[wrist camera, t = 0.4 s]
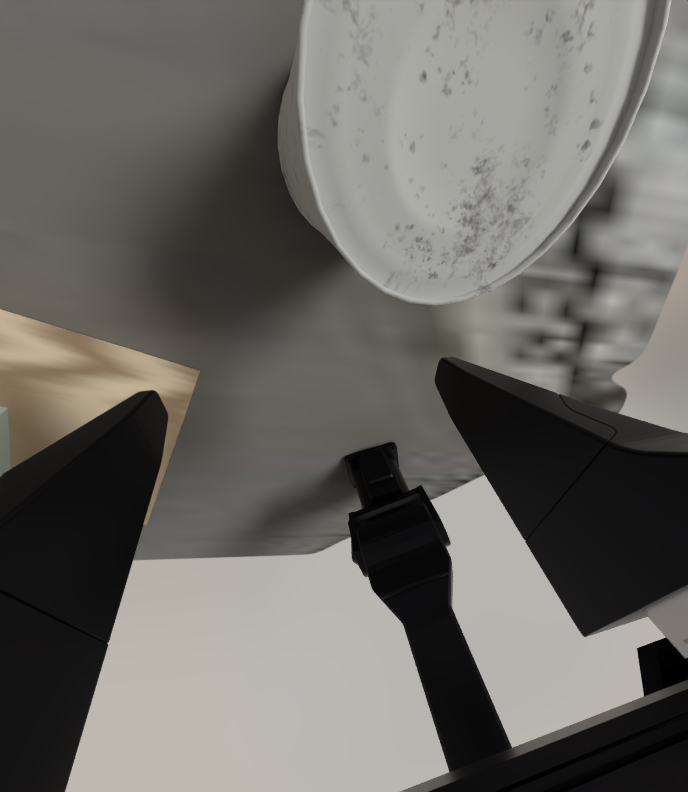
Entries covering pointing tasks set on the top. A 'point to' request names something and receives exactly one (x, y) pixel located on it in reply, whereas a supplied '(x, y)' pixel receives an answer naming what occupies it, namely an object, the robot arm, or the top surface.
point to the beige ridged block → (78, 385)
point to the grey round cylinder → (458, 130)
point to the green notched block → (4, 441)
